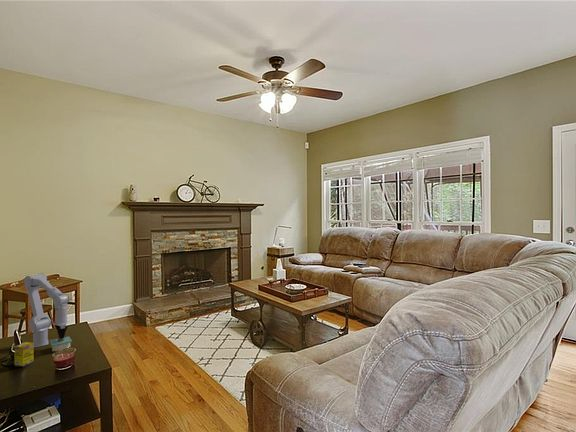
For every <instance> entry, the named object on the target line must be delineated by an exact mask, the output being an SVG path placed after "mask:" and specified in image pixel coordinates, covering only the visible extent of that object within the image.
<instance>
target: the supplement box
mask: <svg viewBox="0 0 576 432" xmlns="http://www.w3.org/2000/svg"><path fill="white" fill-rule="evenodd" d="M34 348H35V347H34V343H33V342H27V341H25V342H23V343H20V344H18V345H15V346H14V365H13V366H14V367H17V368H25V367H26V366H29V365H31V364H34V359H35V358H34V357H35V356H34V354H35V353H34V351H35V350H34Z"/></svg>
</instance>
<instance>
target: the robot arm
mask: <svg viewBox="0 0 576 432" xmlns="http://www.w3.org/2000/svg"><path fill="white" fill-rule="evenodd" d="M47 279H48V277H47V275H46V274H45V273H43V272H42V273H37V274H30V275H26V276H25V277H24V279H23V284H24V288H25V290H26V292H27V295H28V299H29V304H30V308H31V312H32V317H31V318H30V320H29V322H28V323H29V330H30V331H31V332H32V333H33V334H32V335H33V337H32V343H34V348H39V347H43V346H48V345H49V344H50V342H49V338H48V337H49V336H48V335H49V333H48V330H49V328H50V327H51V325H53V326H54V327H55V329H56V331H57V335H58V334H59V338H60V339H62V338H64V337H66V336H65V335H66V331H67V329H68V325H67V323H68V303H69V302H70V296H69V294H68V293H63V292H62V291H60V289H58V288H57V287H53V285H52V284H51V283H50V281H48V280H47ZM39 288H43V290H45V291H46V294H47V296H48V297H49V298H50V299H51V300H52V303H53V305H54V309H55V322H53V323H52V319H51V318H50V317H49V315H48V314H46V313H44V310H43V305H42V301H41V298H40V293H39Z"/></svg>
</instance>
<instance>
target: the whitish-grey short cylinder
mask: <svg viewBox="0 0 576 432" xmlns="http://www.w3.org/2000/svg"><path fill="white" fill-rule="evenodd" d="M69 347H70V348H71V343H67V344H62V345H58V346H53V347H52V346H51V352H54V351H57V350H61V349H65V348H69ZM70 348H69V349H70Z"/></svg>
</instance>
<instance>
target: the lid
mask: <svg viewBox="0 0 576 432" xmlns="http://www.w3.org/2000/svg"><path fill="white" fill-rule="evenodd" d="M67 343H70V344H71V343H73V340H72V339H71V337H70V336H64V338H62V339H60V338H59V334H58V333H57V338H54V339H50V340H49V344H50V346H51V348H52V347H53V346H58V345H62V344H67Z"/></svg>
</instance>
